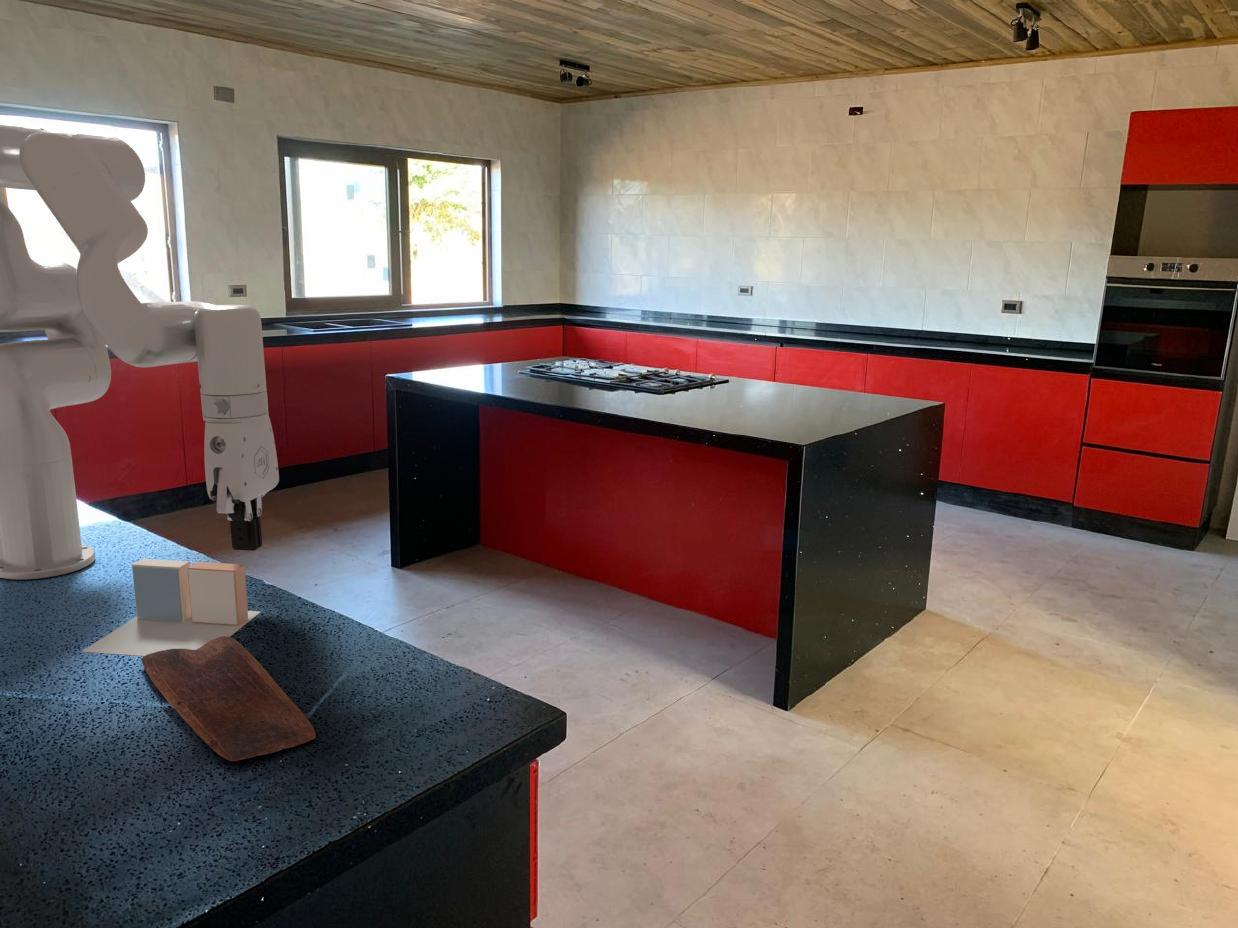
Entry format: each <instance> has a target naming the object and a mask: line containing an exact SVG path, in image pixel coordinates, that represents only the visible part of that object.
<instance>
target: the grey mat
mask: <svg viewBox="0 0 1238 928" xmlns="http://www.w3.org/2000/svg"><path fill="white" fill-rule="evenodd" d="M260 613H261V611H256V610H248V619H247V620H246V621H244V622H243V623H242V624H241V625H224V624H208V623H193V622H192V618H191V617H190V618H189V619H187V620H186V621H185V622H178V621H163V620H147V619H137V616H135V617H134V618H132V619H130V620H129V621H127V622H125V623H123V624H122V625H121V626H119V627H118V628H116V629H114V630H113V631H112V632H110V633H108V634H107V635H104V637H102V638H101V639H99V640H97V641H96V642H94V643H93V644H91V645H89V646H88V647H86V648H85V649H83V650H81V653H90V654H91V653H92V654H104V655H105V654H107V655H108V654H109V655H117V656H118V655H120V656H131V657H132V656H134V657H143V656H146V655H148V654H151V653H154V652H158V651H163V650H168V649H191V650H196V649H198V648H200V647H201V646H203V645H204V644H206V643H207V642H209V641H211V640H213V639H216V638H218V637H222V636H228V637H232V636H233V635H234V634H235V633H237V632H238V631H239V630H241V629H242V628H243V627H245V625H246V624H248V623H249V622H250V621H252V620H253V619H254V618H256V617H257V616H258V615H259V614H260Z"/></svg>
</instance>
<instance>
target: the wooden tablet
mask: <svg viewBox="0 0 1238 928" xmlns="http://www.w3.org/2000/svg"><path fill="white" fill-rule="evenodd" d="M140 661H141V663H142V666H143V668H144V670H145V672H146V674H147V675H148V677H149V679H150V680H151V682H152V683H153V685H154V687H156V689H157V690H158V691H159V692H160V694H161V695H162V696H163V697H164V699H165V700H166V702H168V704H170V706H172V707H173V709H174V710H175V711H176V712H177V713H178V714H179V716H180V717H182V719H183V720H184V722H185V723H186V724H187V725H188V726H189V727H190V728H192V730H193V731H194V732H195V734H197V735H198V736H199V737H200V738H201V740H202V741H203V742H204V743H206V744H207V745H208V746H209V748H211V749H212V750H213V751H214V752H215V753H216V754H217V755H218V756H220V757H222V758H224V759H226V760H227V761H231V762H238V761H241V760H242V761H243V760H246V759H251V758H254V757H257V756H264V755H268V754H273V753H274V754H275V753H277V752H279V751H281V750H284V749H290V748H294V747H297V746H300V745H304V744H306V743H308V742H311V741H313V740H314V739H316V737H317V734H316V731H315V729H314V727H313V725H312V724H311V722H310V720H309V719H308V718H307V717H306V715H305V714H304V713H303V711H302V710H301V709H300V708H298V706H297V705H296V704H295V703H294V702H293V701H292V700H291V698H289V696H288V695H287V694H286V693H285V692H284V690H283V689H282V688H281V687H280V686H279V685H278V683H276V681H275V680H274V679H273V677H272V676H271V675H270V674H269V672H268V671H267V670H266V669H265V668H264V667H263V665H262V664H261V663H260V662H259V661H258V659H256V658H255V657H254V656H253V655H252V654H251V653H250V652H249V651H248V650H247V649H246V648H245V647H244V645H242V644H241V643H240V642H239V641H238V640H236V639H235V638H233V637H232V636H230V637H228V636H222V637H218V638H216V639H213V640H211V641H209V642H207V643H206V644H204V645H203V646H201V647H200V648H198V649H196V650H191V649H168V650H163V651H158V652H154V653H151V654H148V655H146V656H142V658H141V660H140Z"/></svg>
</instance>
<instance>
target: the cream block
mask: <svg viewBox="0 0 1238 928" xmlns="http://www.w3.org/2000/svg"><path fill="white" fill-rule="evenodd" d="M190 562H191V561H188V560H176V559H175V560H169V559H156V558H155V559H154V558H142V559H139V560H138V561H136V562H133V563H132V564H131V571H132V580H133V581H132V582H133V591H134V601H135V611H136V617H137V619H147V620H163V621H178V622H185V621H186V620H187V619H189V618H190V617H191V606H190V594H189V582H188V571H187V568H188V567H190V566H191V564H190Z"/></svg>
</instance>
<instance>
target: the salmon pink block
mask: <svg viewBox="0 0 1238 928" xmlns="http://www.w3.org/2000/svg"><path fill="white" fill-rule="evenodd" d="M187 571H188V582H189V594H190V606H191V618H192V622H193V623H208V624H224V625H241V624H242V623H243V622H244V621H246V620H247V619H248V611H249V610H248V609H249V608H248V597H247V595H248V594H247V583H246V568H245V564H239V563H225V562H224V563H222V562H208V561H204V562H203V561H196V562H195V563H193V564H190V567H188V568H187Z"/></svg>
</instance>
